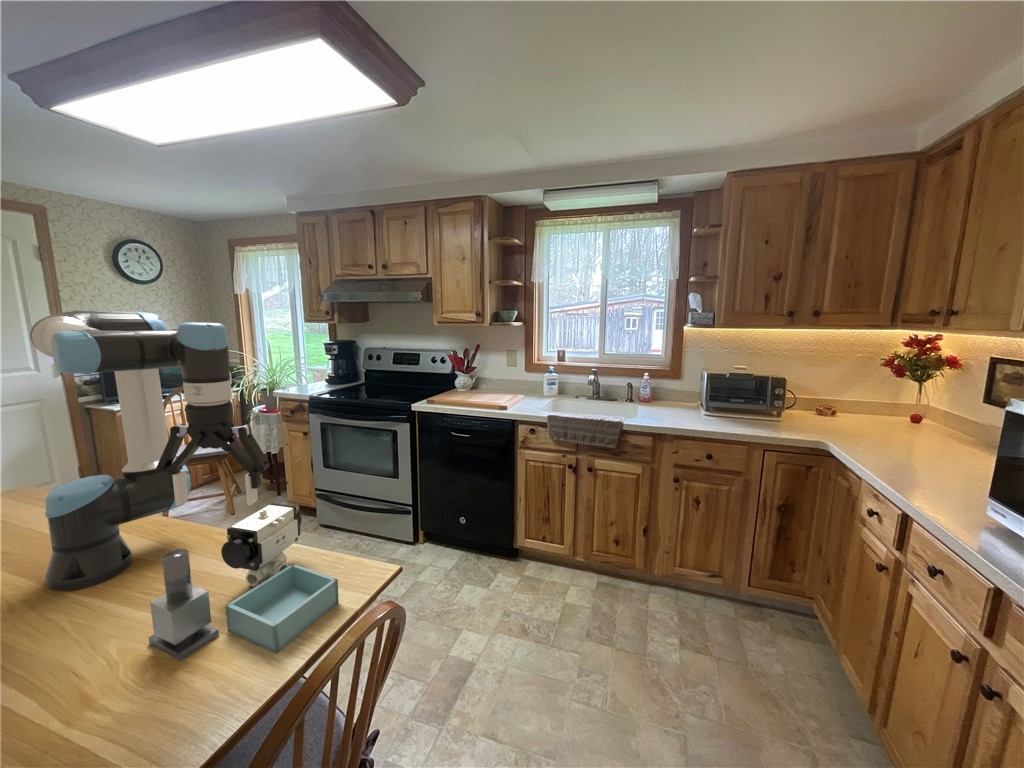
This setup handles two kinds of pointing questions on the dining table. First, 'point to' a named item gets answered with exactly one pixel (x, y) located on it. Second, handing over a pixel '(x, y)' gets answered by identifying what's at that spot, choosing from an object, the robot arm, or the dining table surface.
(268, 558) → the ball valve
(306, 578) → the bin
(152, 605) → the block with domed cylinder
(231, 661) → the dining table surface
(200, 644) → the stud plate
